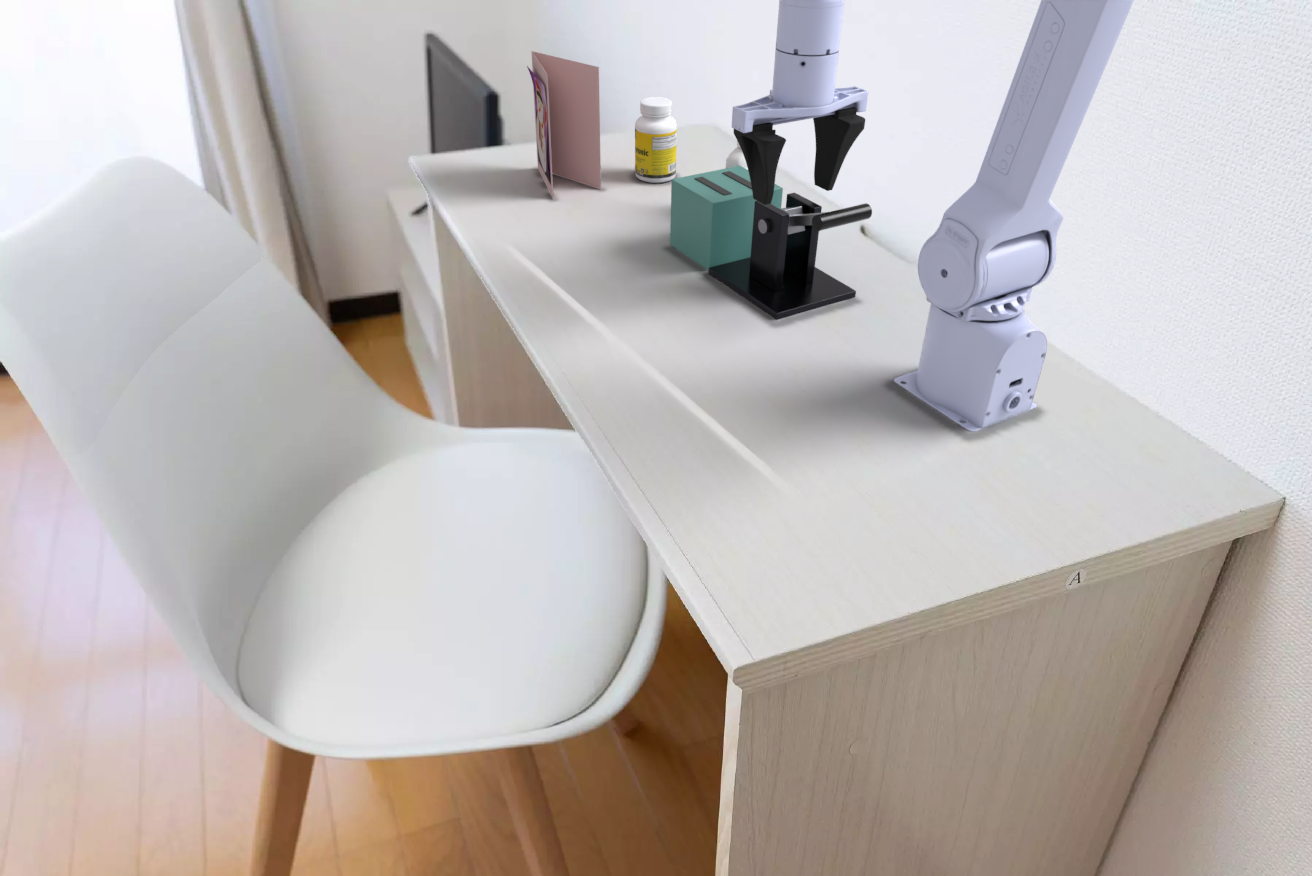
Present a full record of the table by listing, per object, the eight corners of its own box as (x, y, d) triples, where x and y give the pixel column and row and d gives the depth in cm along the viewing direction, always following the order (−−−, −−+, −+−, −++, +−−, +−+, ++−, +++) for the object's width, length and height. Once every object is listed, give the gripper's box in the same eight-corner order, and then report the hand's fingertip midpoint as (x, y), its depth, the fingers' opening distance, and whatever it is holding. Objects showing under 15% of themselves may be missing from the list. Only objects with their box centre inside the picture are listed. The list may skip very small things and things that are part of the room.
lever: (873, 223, 90) (870, 197, 89) (823, 236, 87) (819, 209, 86) (803, 227, 99) (800, 204, 98) (755, 239, 96) (752, 215, 96)
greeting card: (531, 169, 129) (524, 51, 120) (585, 164, 131) (582, 48, 122) (546, 199, 120) (540, 75, 111) (604, 194, 122) (602, 71, 113)
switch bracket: (854, 301, 98) (867, 214, 93) (776, 324, 94) (784, 234, 89) (783, 258, 107) (791, 176, 101) (707, 277, 102) (712, 193, 97)
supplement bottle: (629, 171, 129) (629, 96, 123) (668, 168, 130) (670, 93, 125) (641, 185, 125) (642, 108, 119) (681, 181, 126) (683, 105, 120)
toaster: (776, 257, 107) (783, 186, 102) (709, 275, 103) (712, 202, 98) (735, 232, 112) (739, 164, 108) (669, 248, 108) (671, 178, 104)
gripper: (840, 32, 93) (824, 169, 101) (716, 48, 87) (709, 194, 95) (890, 47, 88) (870, 190, 96) (762, 65, 82) (751, 218, 90)
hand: (793, 194), depth 95 cm, fingers open, 7 cm apart
